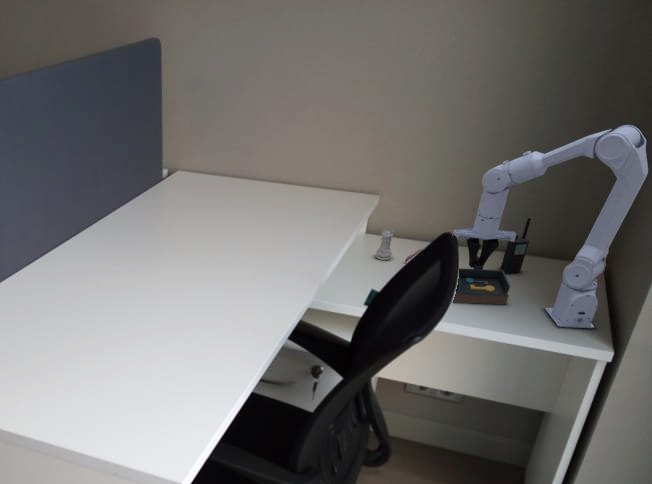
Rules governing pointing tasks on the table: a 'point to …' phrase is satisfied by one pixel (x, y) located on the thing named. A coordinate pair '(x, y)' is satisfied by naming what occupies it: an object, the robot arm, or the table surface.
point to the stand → (480, 298)
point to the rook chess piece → (385, 246)
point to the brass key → (483, 288)
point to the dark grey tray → (478, 273)
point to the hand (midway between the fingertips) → (475, 266)
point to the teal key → (475, 281)
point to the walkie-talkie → (515, 253)
